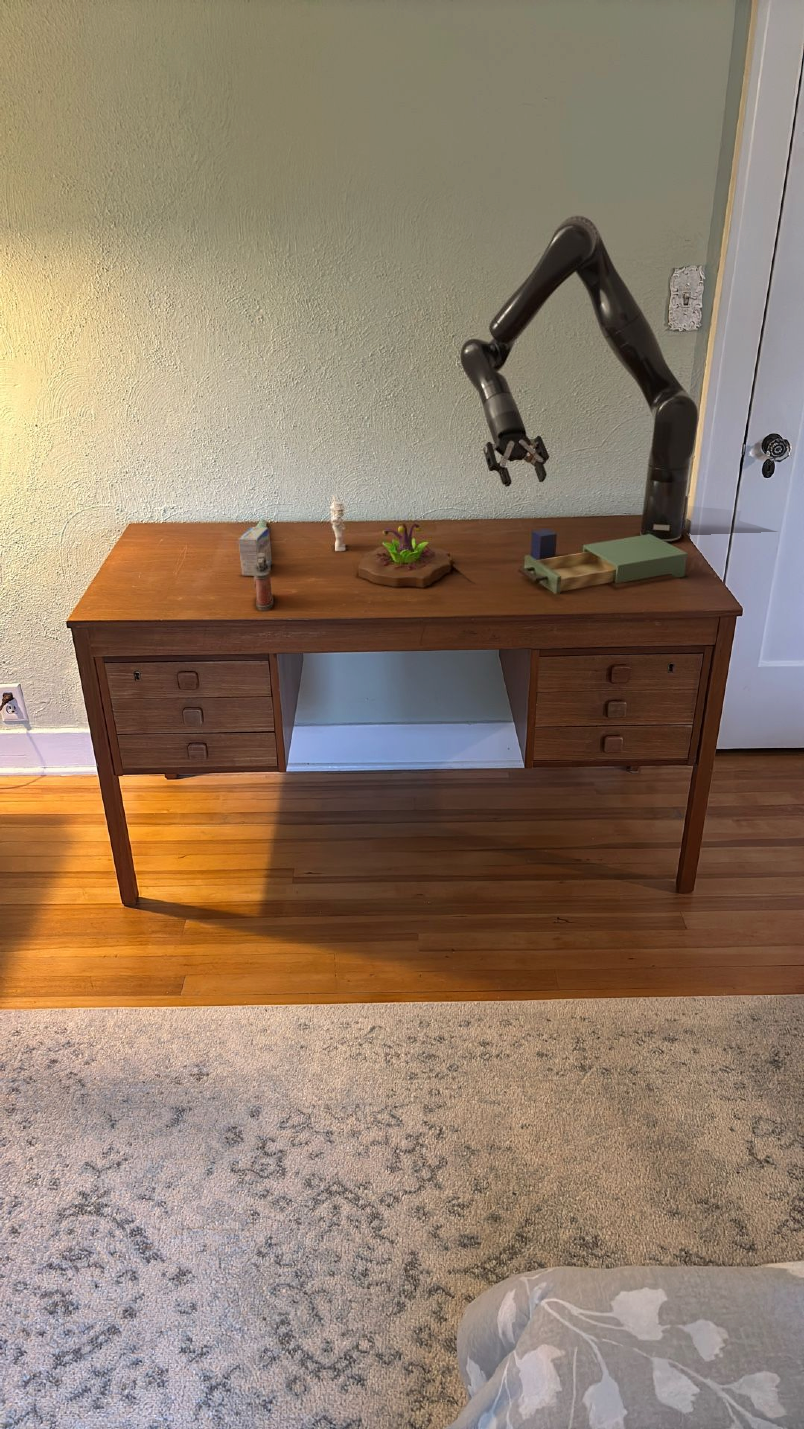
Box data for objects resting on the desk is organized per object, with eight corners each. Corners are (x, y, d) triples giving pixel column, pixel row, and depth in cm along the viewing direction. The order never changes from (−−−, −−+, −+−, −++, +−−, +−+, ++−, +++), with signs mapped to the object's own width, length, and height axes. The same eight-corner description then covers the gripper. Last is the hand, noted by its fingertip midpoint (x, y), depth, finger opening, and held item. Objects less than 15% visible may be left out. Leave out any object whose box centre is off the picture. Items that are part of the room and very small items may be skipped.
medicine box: (261, 577, 213) (257, 539, 208) (241, 576, 213) (237, 537, 209) (272, 564, 219) (269, 527, 215) (253, 563, 220) (250, 526, 216)
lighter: (257, 595, 204) (253, 549, 199) (273, 594, 204) (269, 548, 199) (255, 610, 197) (251, 563, 192) (272, 609, 197) (268, 562, 192)
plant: (345, 581, 210) (342, 530, 204) (378, 551, 226) (377, 503, 220) (433, 592, 204) (433, 540, 198) (461, 560, 220) (462, 512, 214)
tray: (541, 599, 198) (542, 579, 196) (510, 577, 209) (510, 557, 207) (628, 584, 205) (630, 564, 202) (593, 562, 216) (595, 543, 213)
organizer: (615, 588, 204) (618, 565, 201) (581, 567, 215) (583, 544, 212) (684, 576, 209) (687, 553, 207) (647, 556, 220) (650, 533, 218)
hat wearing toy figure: (332, 542, 232) (329, 492, 226) (348, 541, 232) (346, 491, 226) (330, 555, 224) (327, 504, 218) (347, 554, 224) (345, 503, 218)
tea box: (538, 568, 215) (540, 536, 211) (530, 562, 218) (531, 530, 214) (554, 566, 216) (557, 533, 212) (545, 560, 219) (547, 528, 215)
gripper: (481, 412, 215) (503, 477, 211) (538, 406, 219) (561, 469, 216) (469, 432, 221) (491, 495, 218) (525, 425, 226) (547, 487, 222)
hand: (526, 482), depth 217 cm, fingers open, 8 cm apart
